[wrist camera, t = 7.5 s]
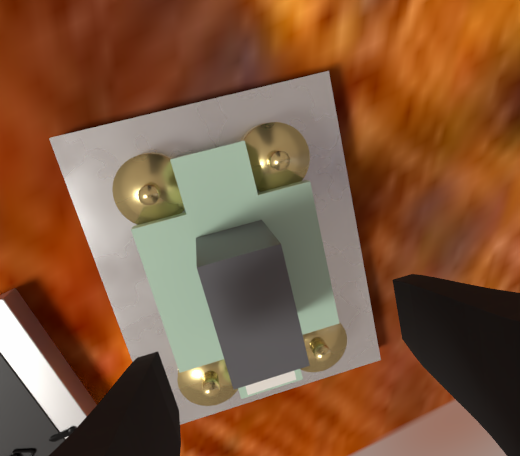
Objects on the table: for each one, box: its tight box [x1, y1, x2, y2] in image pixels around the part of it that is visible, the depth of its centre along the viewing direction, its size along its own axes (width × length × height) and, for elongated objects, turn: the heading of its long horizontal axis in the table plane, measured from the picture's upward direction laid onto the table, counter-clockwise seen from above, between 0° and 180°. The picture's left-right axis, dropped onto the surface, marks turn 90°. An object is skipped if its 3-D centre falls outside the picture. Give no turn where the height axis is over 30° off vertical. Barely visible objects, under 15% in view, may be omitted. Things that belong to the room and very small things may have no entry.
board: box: [131, 140, 339, 399], centre depth 16 cm, size 8×12×5 cm, turn 14°
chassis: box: [49, 71, 381, 424], centre depth 19 cm, size 13×16×4 cm
